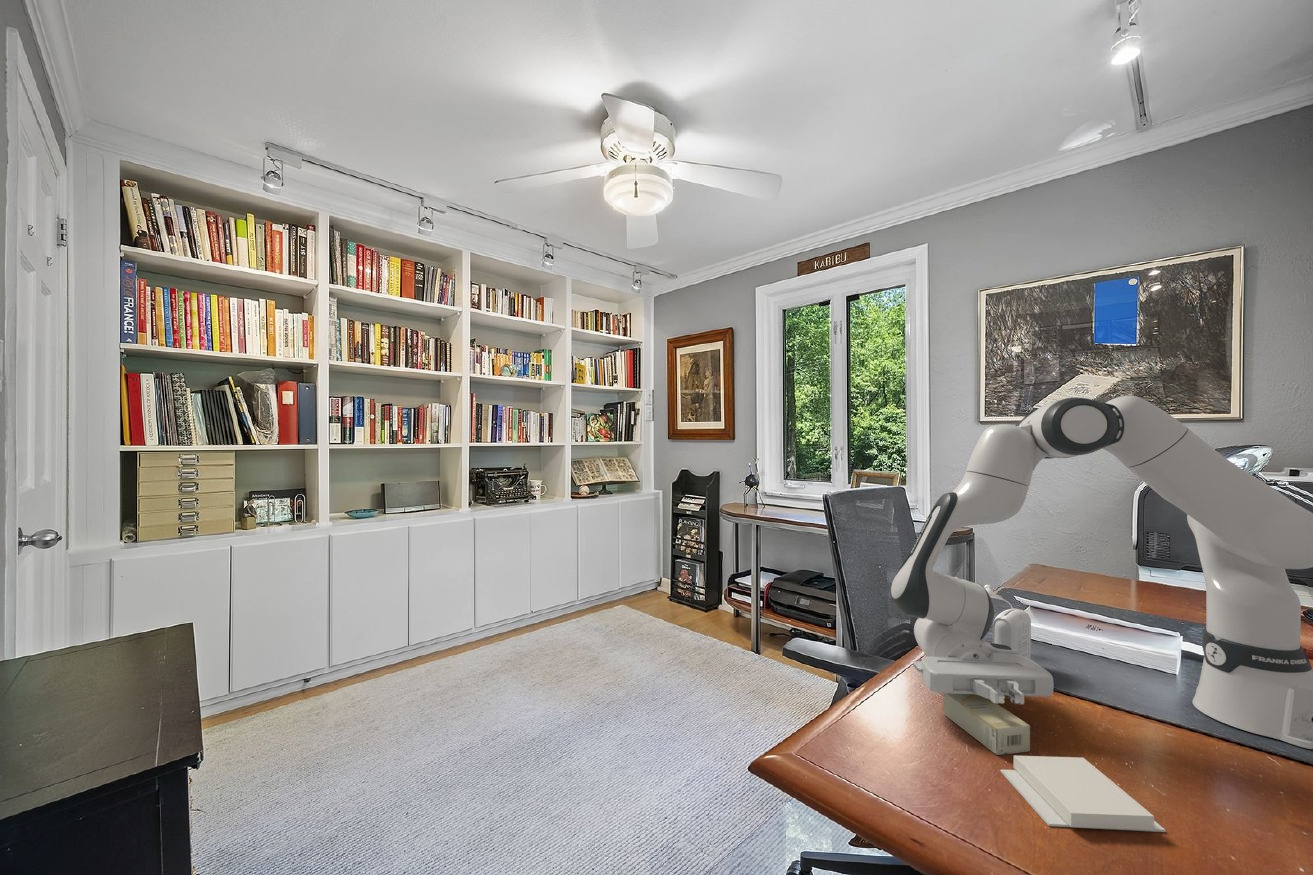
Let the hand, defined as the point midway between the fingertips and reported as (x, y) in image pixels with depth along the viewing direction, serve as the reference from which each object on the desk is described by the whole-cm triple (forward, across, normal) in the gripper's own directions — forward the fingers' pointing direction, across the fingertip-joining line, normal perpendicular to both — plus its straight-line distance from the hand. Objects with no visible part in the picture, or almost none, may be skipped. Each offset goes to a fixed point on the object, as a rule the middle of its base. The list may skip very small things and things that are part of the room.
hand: (1009, 699), depth 86 cm
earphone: (-47, +18, +8) cm, 51 cm away
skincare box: (+2, 0, +6) cm, 6 cm away
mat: (+12, +2, +8) cm, 14 cm away
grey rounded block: (-30, +17, +8) cm, 35 cm away
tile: (+6, +2, +6) cm, 9 cm away
